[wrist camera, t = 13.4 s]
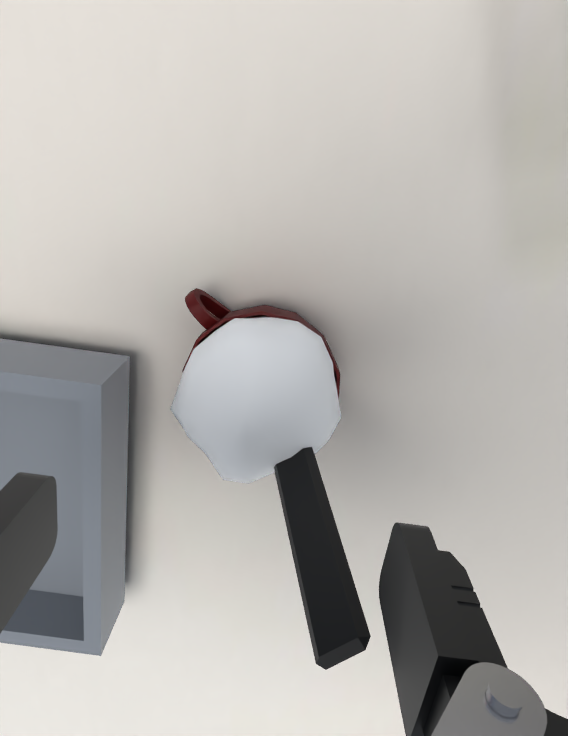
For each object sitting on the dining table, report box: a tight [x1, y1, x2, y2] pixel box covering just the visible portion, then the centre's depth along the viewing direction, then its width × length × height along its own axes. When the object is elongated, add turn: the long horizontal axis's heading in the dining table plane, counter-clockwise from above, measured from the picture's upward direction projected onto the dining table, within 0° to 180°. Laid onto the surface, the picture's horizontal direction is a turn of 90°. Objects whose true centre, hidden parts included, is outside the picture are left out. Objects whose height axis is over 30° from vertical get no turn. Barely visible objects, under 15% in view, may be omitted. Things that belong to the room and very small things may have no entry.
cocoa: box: [171, 288, 370, 669], centre depth 18 cm, size 10×6×12 cm, turn 14°
